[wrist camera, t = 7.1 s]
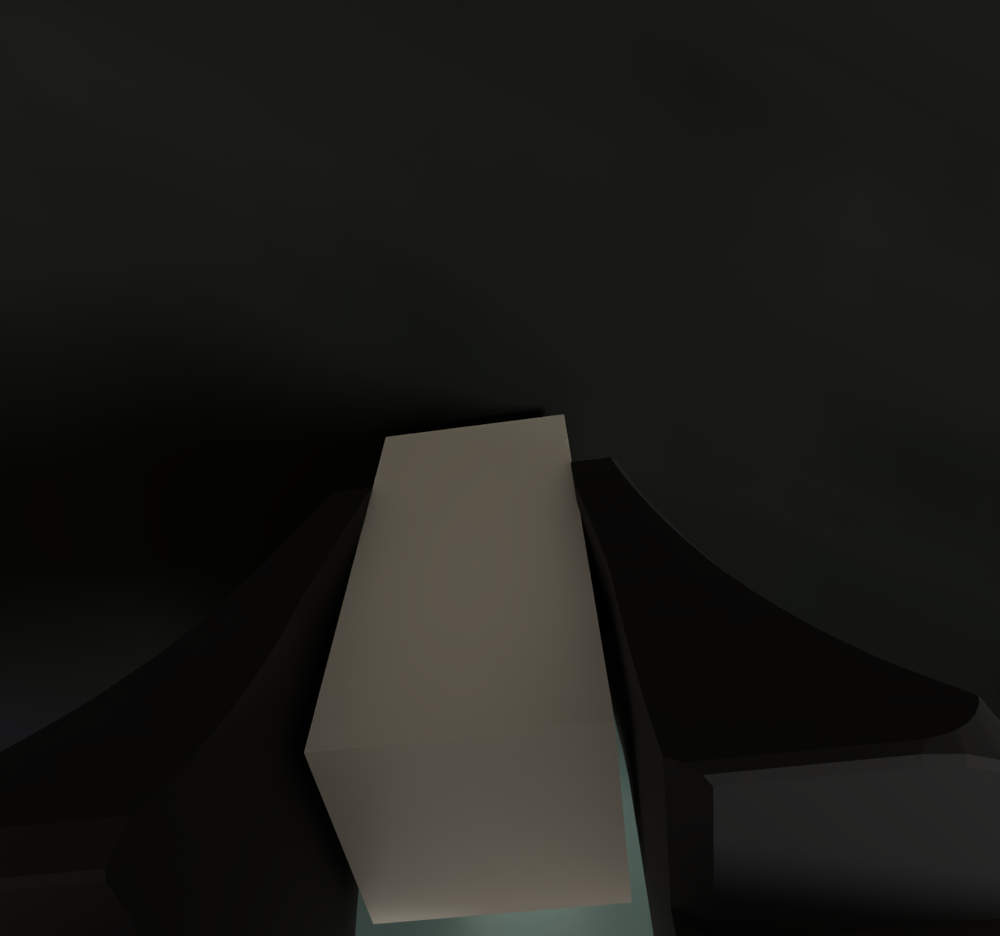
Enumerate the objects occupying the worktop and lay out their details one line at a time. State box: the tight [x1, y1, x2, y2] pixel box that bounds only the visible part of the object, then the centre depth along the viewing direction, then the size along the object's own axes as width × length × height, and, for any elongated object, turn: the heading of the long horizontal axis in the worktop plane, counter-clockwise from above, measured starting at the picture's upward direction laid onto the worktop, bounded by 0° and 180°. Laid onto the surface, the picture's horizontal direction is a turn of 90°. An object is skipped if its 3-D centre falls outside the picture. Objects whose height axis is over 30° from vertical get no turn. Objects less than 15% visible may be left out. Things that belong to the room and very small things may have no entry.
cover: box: [304, 414, 653, 936], centre depth 14 cm, size 6×14×6 cm, turn 8°
